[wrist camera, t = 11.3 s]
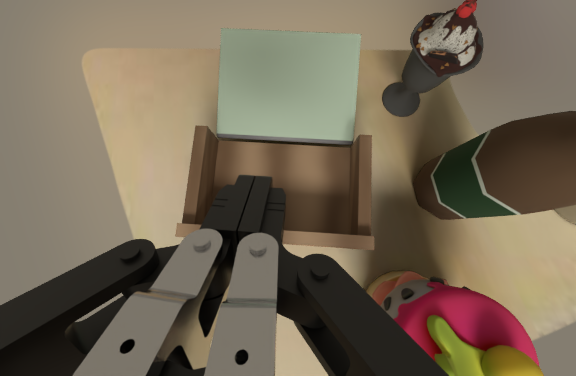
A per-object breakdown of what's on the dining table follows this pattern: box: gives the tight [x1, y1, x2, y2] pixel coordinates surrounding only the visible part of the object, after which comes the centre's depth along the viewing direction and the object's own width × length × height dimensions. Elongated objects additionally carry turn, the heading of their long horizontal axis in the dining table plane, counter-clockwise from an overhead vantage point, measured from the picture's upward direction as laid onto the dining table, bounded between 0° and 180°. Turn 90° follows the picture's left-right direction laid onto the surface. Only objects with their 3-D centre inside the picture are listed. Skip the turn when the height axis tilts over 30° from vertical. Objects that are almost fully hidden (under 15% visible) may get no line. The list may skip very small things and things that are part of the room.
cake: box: [366, 271, 544, 376], centre depth 21 cm, size 10×11×15 cm
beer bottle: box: [413, 111, 576, 220], centre depth 19 cm, size 8×8×24 cm
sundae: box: [382, 0, 483, 117], centre depth 25 cm, size 7×7×15 cm
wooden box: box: [175, 126, 374, 250], centre depth 27 cm, size 18×11×8 cm, turn 86°
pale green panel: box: [217, 28, 361, 145], centre depth 29 cm, size 16×2×12 cm
